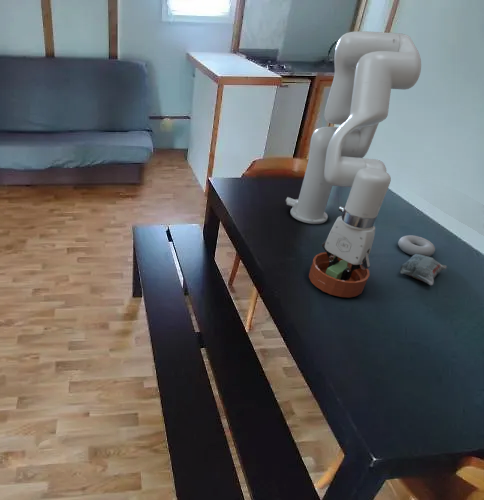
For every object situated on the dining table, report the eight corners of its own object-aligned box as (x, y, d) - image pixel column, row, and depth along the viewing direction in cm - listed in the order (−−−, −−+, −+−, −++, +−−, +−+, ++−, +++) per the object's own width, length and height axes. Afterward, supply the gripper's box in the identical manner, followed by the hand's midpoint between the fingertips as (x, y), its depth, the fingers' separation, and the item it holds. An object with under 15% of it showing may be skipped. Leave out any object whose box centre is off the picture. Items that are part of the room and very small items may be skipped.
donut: (402, 257, 125) (437, 261, 123) (406, 247, 123) (442, 251, 121) (392, 240, 133) (425, 244, 131) (396, 231, 131) (429, 235, 130)
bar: (334, 284, 108) (338, 274, 106) (323, 278, 111) (327, 268, 109) (350, 275, 113) (354, 264, 111) (340, 269, 115) (343, 258, 113)
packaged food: (443, 274, 118) (450, 260, 115) (428, 290, 111) (436, 276, 108) (410, 261, 123) (417, 247, 120) (395, 276, 116) (401, 262, 114)
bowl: (300, 284, 112) (305, 267, 109) (318, 261, 121) (323, 246, 118) (354, 306, 104) (361, 289, 101) (368, 281, 114) (375, 265, 111)
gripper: (320, 208, 105) (303, 266, 115) (383, 236, 94) (357, 297, 104) (337, 201, 109) (319, 258, 119) (398, 227, 98) (373, 287, 108)
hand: (337, 276), depth 111 cm, fingers closed on bar, 3 cm apart
